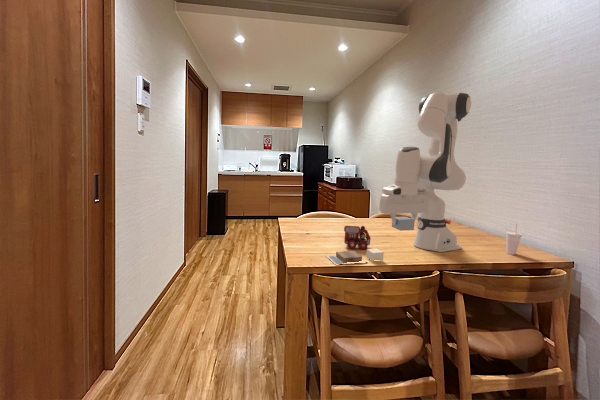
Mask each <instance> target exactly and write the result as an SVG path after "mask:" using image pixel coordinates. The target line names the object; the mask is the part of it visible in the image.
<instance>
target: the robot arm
mask: <svg viewBox="0 0 600 400" xmlns="http://www.w3.org/2000/svg"><path fill="white" fill-rule="evenodd" d="M471 107H472V101H471V96H470V95H469V94H468V93H466V92H459V93H457V92H456V93H455V92H452V93H451V92H450V93H449V92H448V93H445V92H439V91H436V92H433V93H430V95H426V96H423V97H422V98H421V99H420V100H419V103H418V113H419V115H418V119H417V127H418V130H419V131H420V132H421V134H423V135H425V136H427V137H429V138H430V139H429V145H428V148H427V149H428V150H427V151H428V154H429V155H428V156H427V155H421V149H420V148H419V147H417V146H416V147H415V146H404V147H401V148H399V149H398V152H397V157H396V163H395V174H396V175H395V178H394V183H392V184H389V185H386V186H384V187H383V188H382V190H381V192H382V195H381V196H380V199H379V200H380V201H379V209H378V210H379V212H380V213H382V214H385V215H389V216H390V219H391V225H392V224H393V225H397V224H398V220H396V219H395V217H397V214H410V215H411V216H410V218H411V219H414V220H415V221H416V218H417V230H416V234H415V238H414V240H413V242H412V245H413V246H414V247H417V248H419V249H422V250H426V251H427V250H428V251H434V252H439V253H444V252H450V251H457V250H462V249H463V248H462V245H460V244H458V239H457V235H456V234H455V232H453V231H452V230H451V229H450V228H448V226H447V224H448V225H451V223H452V220H451V219H445V212H446V211H445V210H446V202H445V201H444V200H443V199H442V198H441V197H439V196H437V194H436V192H435V190H439V191H440V190H441V191H448V192H449V191H459V190H461V188H463V187H464V185H465V184H466V180H467V177H466V174H465V173H466V172H464V170H463V169H462V168H461V167H460V166H459V165H458V163H457V162H456V159H455V147H456V141H457V135H458V123H459V122H461V121H462V120H463V119H464V118H465V117H467V115H468V114H469V113H470V110H471Z"/></svg>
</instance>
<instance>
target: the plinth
mask: <svg viewBox="0 0 600 400" xmlns="http://www.w3.org/2000/svg"><path fill="white" fill-rule="evenodd" d="M335 255H336V257H337V258H339V259H340V260H341V261H342V262H343V263H347V262H359V261H362V259H363V257H362V256H361V255H360V254H359V253H358V252H356V251H355V250H346V251H345V250H342V251H341V250H340V251H336V252H335Z"/></svg>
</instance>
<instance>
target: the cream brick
mask: <svg viewBox="0 0 600 400" xmlns="http://www.w3.org/2000/svg"><path fill="white" fill-rule="evenodd" d="M384 254H385V252H384V251H383V250H380V249H379V248H366V255H365V257H367V258H369V259H371V260H372V261H374V260H383V261H384V256H385V255H384ZM367 258H366V259H367ZM369 259H368V260H369ZM372 261H371V262H372Z"/></svg>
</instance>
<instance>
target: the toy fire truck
mask: <svg viewBox="0 0 600 400" xmlns="http://www.w3.org/2000/svg"><path fill="white" fill-rule="evenodd" d="M343 228H344V229H343V231H344V241H343V242H344V244H345V245H347V247H348V249H350V250H354V249H356V248H357V246H358V248H359V249H360V250H363V251H364V250H365V251H366V250H367V249H368V246H370V245H371V236H370V234H369V232H368V230H367V229H366V227H365V225H361V226H359V225H345V226H344V227H343Z"/></svg>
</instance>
